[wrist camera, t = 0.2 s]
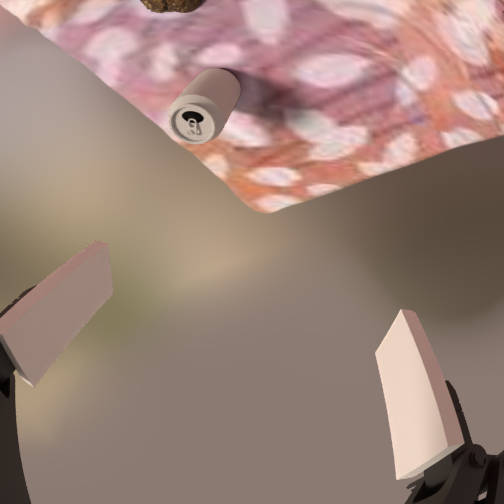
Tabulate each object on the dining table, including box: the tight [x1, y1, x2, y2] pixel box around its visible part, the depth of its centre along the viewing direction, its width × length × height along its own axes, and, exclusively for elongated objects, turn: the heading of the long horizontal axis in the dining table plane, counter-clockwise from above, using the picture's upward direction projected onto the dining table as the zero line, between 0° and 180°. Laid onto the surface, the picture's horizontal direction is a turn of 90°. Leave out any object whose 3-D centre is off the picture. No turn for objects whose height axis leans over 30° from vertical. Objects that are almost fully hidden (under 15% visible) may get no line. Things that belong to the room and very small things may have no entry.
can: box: [169, 68, 241, 144], centre depth 33 cm, size 8×8×12 cm
